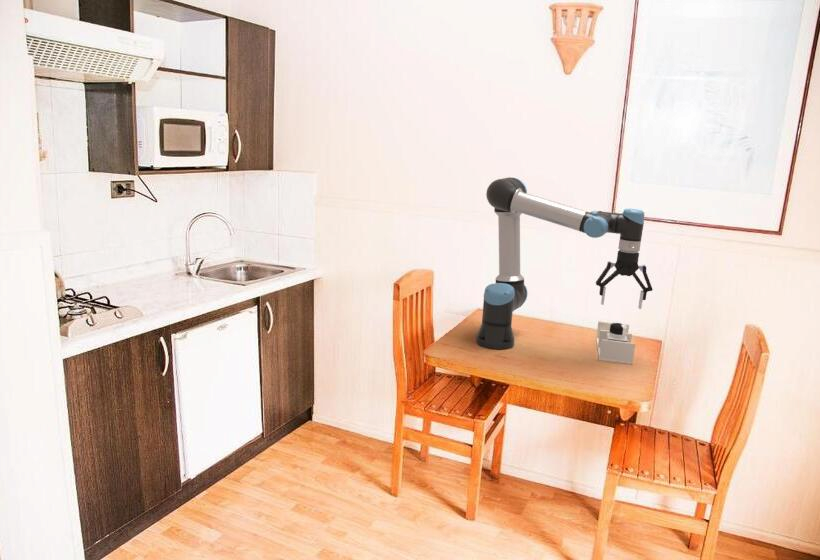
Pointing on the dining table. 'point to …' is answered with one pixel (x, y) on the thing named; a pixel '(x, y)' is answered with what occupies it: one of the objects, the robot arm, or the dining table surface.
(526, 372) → the dining table surface
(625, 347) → the rack
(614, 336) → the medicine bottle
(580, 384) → the dining table surface
